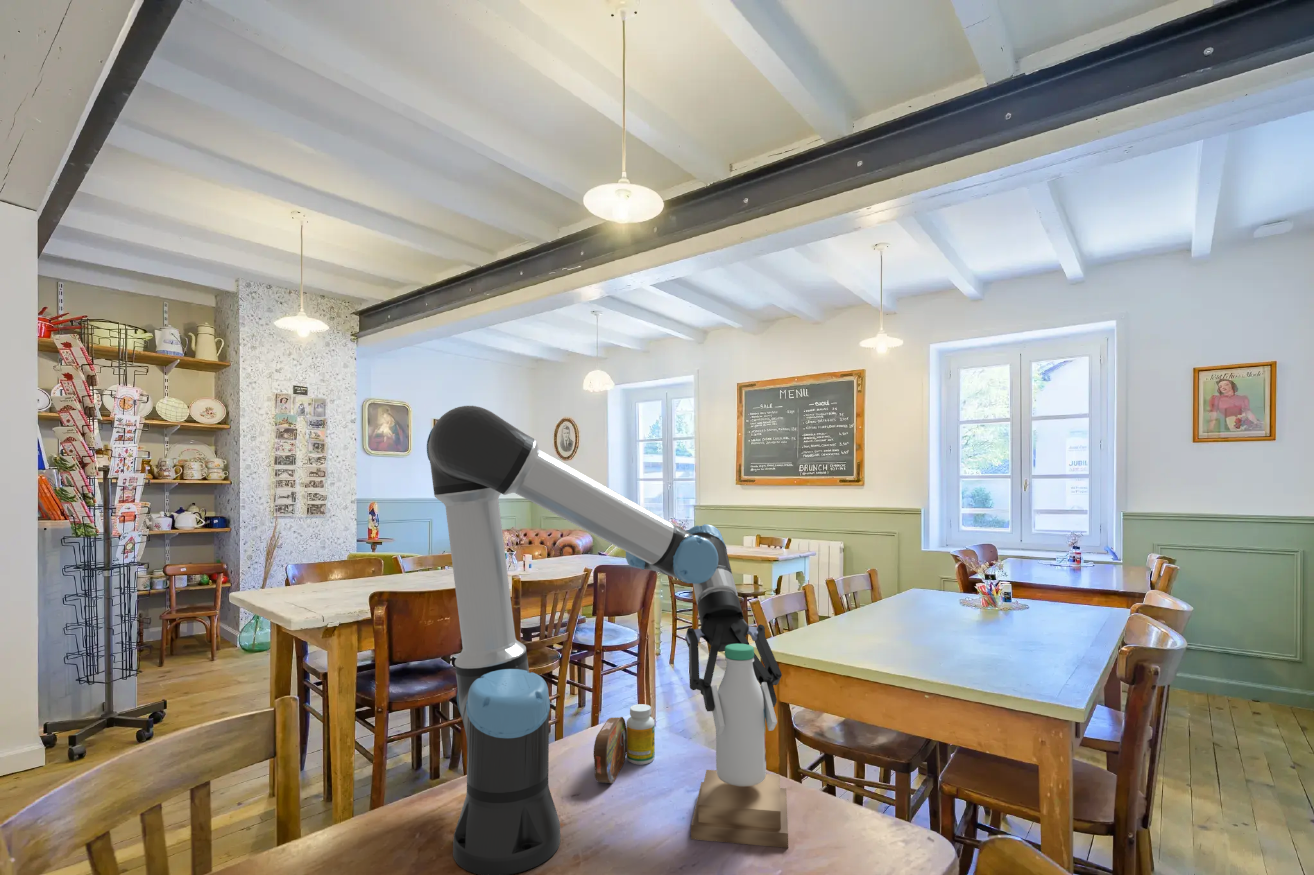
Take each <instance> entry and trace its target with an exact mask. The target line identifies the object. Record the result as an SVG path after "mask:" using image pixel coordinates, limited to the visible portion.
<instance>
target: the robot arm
mask: <svg viewBox="0 0 1314 875" xmlns="http://www.w3.org/2000/svg"><path fill="white" fill-rule="evenodd" d="M426 455H427V460H429V465H430V470H431V471H430V472H431V478H432V479H431V480H432V488H433V497H435V499H437V500H438V501H439V502H441V503H442V504H443V505H444V506H445V514H446V523H447V529H448V536H449V537H448V538H449V539H448V540H449V545H450V546H449V548H450V554H451V562H452V563H451V564H452V571H453V581H454V588H455V589H454V590H455V596H456V604H457V605H456V606H457V611H458V612H457V613H458V620H459V630H460V637H461V646H462V650H461V652H460V653H459V654H458V656H457V657H456V658H455V660H454V667H455V668H454V669H455V676H456V684H457V693H456V702H457V708H458V711H459V713H460V716H461V720H462V723H463V726H464V730H465V737H466V794H465V799H464V802H463V805H462V809H461V811H460V815H459V817H458V821H457V824H456V827H455V830H454V834H453V838H452V841H453V842H452V843H453V844H452V847H453V848H452V855H453V856H452V857H453V860H454V861H455V863H456V864H457V865H458V866H459V867H460V868H462V869H463V870H464V871H465V870H466V871H467V872H469V873H473V874H476V875H513V874H518V873H522V872H525V871H528V870H531V869H533V868H534V869H535V867H538V866H540V865H542V864H543V863H545V862H546V861H547V860H549V859H551V857H552V856H553V855H555V853H556V852H557V851H558V849H559V847H560V844H561V822H560V818H559V814H558V812H557V808H556V806H555V802H554V800H553V796H552V793H551V790H550V786H549V764H550V762H549V752H550V750H549V748H550V747H549V743H550V740H549V738H550V737H549V736H550V734H549V732H550V729H549V727H550V726H549V725H550V720H549V718H550V711H551V710H550V709H551V699H550V696H549V688H548V684H547V682H546V681H545V679H544V678H543V677H542V676H541V675H539V674H537V673H535V672H533V671H531V672H530V669H529V661H528V660H529V659H528V654H527V647H526V645H525V644H523V643H522V642H520V641H519V640H517V637H516V632H515V622H514V614H513V607H512V601H511V600H512V598H511V591H510V582H509V574H508V567H507V558H506V548H505V544H504V542H505V541H504V534H503V527H502V525H503V524H502V519H501V518H502V516H501V511H500V502H499V498H500V496H501V495H503V496H506V495H508V494H513V493H514V494H517V496H520V497H522V498H524V499H525V500H527V501H530V502H531V503H533V504H535V505H537V506H539V507H541V508H543V509H544V510H546V511H548V512H550V513H552V514H554V515H557V516H558V517H560V518H561V519H564V520H566V521H568V522H569V523H571V524H573V525H575V526H577V527H578V528H581V529H582V530H585V531H587V532H588V533H590V534H592V535H593V536H596V537H598V538H600V539H602V540H604V541H606V542H607V543H610V544H612V545H613V546H616V547H617V548H618V549H621V550H622V551H625V559H626V563H627V564H628V565H629V566H630V567H632V568H636V569H639V570H640V569H641V570H643V571H645V570H648V571H653V572H656V573H660V574H663V575H665V576H668V577H672V578H675V579H677V580H680V581H681V582H683V583H686V584H692V587H693V592H694V597H695V602H696V605H697V611H698V612H697V613H698V617H699V622H700V628H699V627H698V628H695V629H694V628H692V627H688V628H687V630H686V634H685V637H684V640H685V641H686V644H687V647H688V669H689V674H688V676H689V680H688V681H689V688H690V690H691V691H696V690H697V691H700V694H701V695H702V697H703V702H704V703H703V704H704V708H705V710H706V711H707V712H712V717H713V723H714V726H715V734H716V733H717V735H720V734H722V732H723V730H724V727H725V724H724V720H723V715H722V710H721V705H720V700H719V695H718V687H717V684H715V685H714V684H713V685H712V681H713V677H714V672H715V666H716V663H717V662H716V661H717V658H718V654H719V652H720V653H721V652H722V653H723V652H725V647H726V646H727V645H730V644H747V645H750V643H749V640H748V639H747V638H746V637H747V635H750V637H751V641H753V642H755V643H754V644H755V648H756V650H757V652H758V654H759V657H760V658H759V657H758V656H757V654H756V653H755V652H754V662H753V669H754V673H755V676H756V678H757V681H758V683H759V685H760V687H761V690H762V693H763V698H764V707H765V724H766V727H767V730H768V731H769V732H770V731H774V730H775V728H776V726H777V723H778V719H777V716H776V713H775V708H774V707H775V706H776V704H777V703H778V702H777V701H778V699H777V695H776V691H775V688H774V686H777V685H779V683H780V680H781V678H782V676H783V675H782V674H783V673H782V671H781V669H780V667H779V665H778V662H777V659H776V658H775V655H774V654H773V651H772V648H771V647H770V644H769V642H768V640H767V637H766V631H765V630H766V627H765V625H763V624H760V623H759V624H758V625H757V627H756V626H752V625H751V626H749V624H748V623H747V622H746V621H745V618H744V613H743V609H742V605H741V603H740V602H741V601H740V598H739V595H738V590H737V586H736V583H735V579H734V576H733V571H732V567H731V564H730V559H729V555H728V549H727V546H726V543H725V541H724V538H723V536H722V533H721V531H720V529H718V528H717V527H716V526H714V525H712V524H707V523H706V524H702V525H694V526H693V527H691V528H689V529H688V530H684V529H683V528H681V527H679V526H677V525H675V524H673V523H672V522H670V521H668V520H667V519H665V518H663V517H662V516H659V515H658V514H656V513H654V512H653V511H651V510H649V509H647V508H645V507H643V506H641V505H640V504H639V503H636V501H635V502H634V501H633V500H631V499H629V498H627V497H625V496H624V495H622V494H620V493H618V492H617V491H615V490H613V489H611V488H609V487H608V486H606V485H604V484H602V483H601V482H599V481H597V480H596V479H593V478H592V477H590V476H588V475H586V474H585V473H583V472H581V471H579V470H577V469H575V468H574V467H572V466H570V465H568V464H566V463H564V462H562V461H561V460H559V459H557V458H555V457H554V456H552V455H550V454H548V453H547V452H545V451H543V450H541V449H540V448H539V446H538V442H537V439H535V438H533V437H531V436H530V435H529V434H526V433H524V431H521V430H520V429H518V428H516V427H515V426H513V425H512V424H510V423H509V422H508V421H506V420H504V419H503V418H502V417H500V416H498V415H497V414H495V413H494V412H492V411H490V410H488V409H486V408H483V407H480V406H476V405H462V406H458V407H454V408H452V409H450V410H449V411H446V412H445V413H444V414H442V415H441V416H440V417H439V419H438V420H437V421H436V423H435V424H434V425H433V427H432V428H431V430H430V432H429V434H428V437H427V440H426ZM701 638H703V640H705V641H706V643H707V644H708V645H709V646H710V649H709V652H708V653H709V654H708V658H707V663H706V665H705V672H704V676H703V678H700V663H699V662H700V661H699V660H700V656H699V643H700V641H701ZM760 659H761V660H760Z"/></svg>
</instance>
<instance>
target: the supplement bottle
mask: <svg viewBox="0 0 1314 875" xmlns="http://www.w3.org/2000/svg"><path fill="white" fill-rule="evenodd" d="M629 715H630V717H629V718H628V719H627V720H626V757H625V758H626V760H627V761H628V762H629V763H631V764H633V765H639V766H640V765H641V766H642V765H647V764H650V763H652V762H653V761H654V760H655V751H656V750H655V745H656V744H655V740H656V738H655V737H656V734H655V733H656V732H655V730H656V729H655V728H656V726H655V724H656V723H655V720H654V718H653V717H652V716H651V715H652V706H650V705H649V704H644V703H643V704H642V703H641V704H640V703H638V704H632V705H631V706H630V708H629Z"/></svg>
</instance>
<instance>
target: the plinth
mask: <svg viewBox="0 0 1314 875" xmlns="http://www.w3.org/2000/svg"><path fill="white" fill-rule="evenodd" d="M787 798H788V797H787V788H786V787H781V774H775V773H774V774H773V773H772V774H771V773H766V776H765V779H764V780H763V781H762V782H761V783H759V784H757V785H753V786H734V785H730V784H727V783H725V782H723V781H722V780H720V779H719V777H718V775H717V770H715V769H706V770H705V776H704V779H703V781H701V783H700V786H699V790H698V795H697V799H696V802H695V803H696V804H695V806H694V811H693V815H692V816H693V817H692V819H691V824H690V833H691V834H690V840H697V841H708V842H717V843H718V842H719V843H729V844H730V843H731V844H740V845H741V844H742V845H753V846H762V847H763V846H765V847H776V848H786V849H789V820H788V819H789V818H788V800H787Z"/></svg>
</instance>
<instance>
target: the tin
mask: <svg viewBox="0 0 1314 875" xmlns="http://www.w3.org/2000/svg"><path fill="white" fill-rule="evenodd" d="M626 724H627V722H626V721H625V718H624V717H623V716H620V717H609V718H608V719H607V720H606V722H604V724H603V726H602V727H601V729H600V730H599V732H598V733H597V735H596V737H595V741H594V745H593V761H594V778H595V780H596V781H597V782H598V783H604V784H605V783H606V784H614V783H615V781H616V779H617V777H618V775H619V774H620V771H621V769H622V768H623V766H624V764H625V761H626V758H627V757H626Z"/></svg>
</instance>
